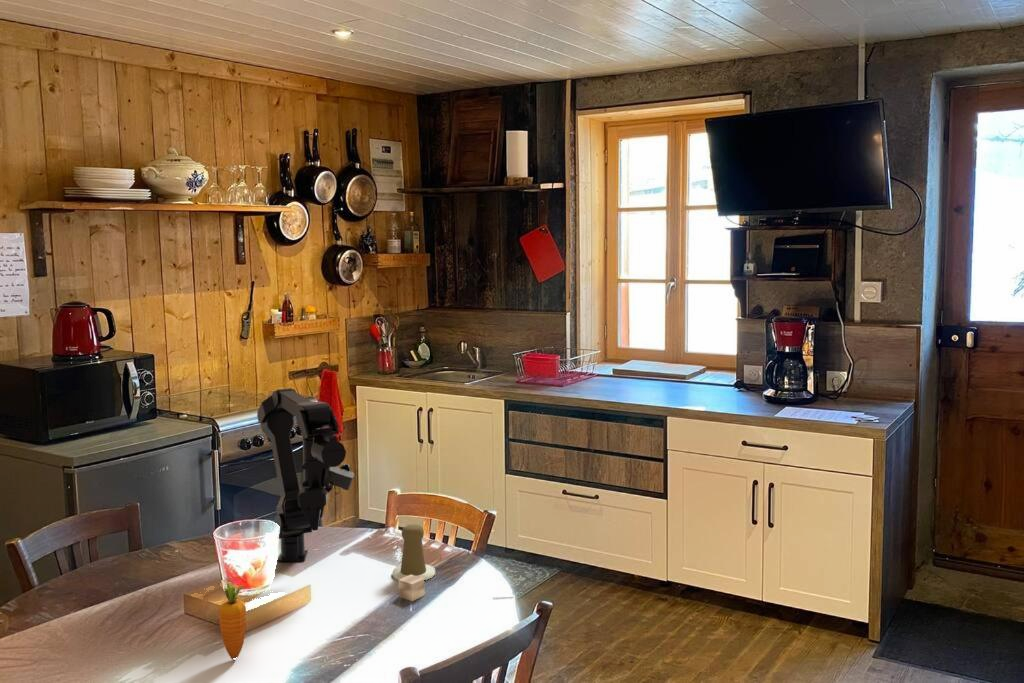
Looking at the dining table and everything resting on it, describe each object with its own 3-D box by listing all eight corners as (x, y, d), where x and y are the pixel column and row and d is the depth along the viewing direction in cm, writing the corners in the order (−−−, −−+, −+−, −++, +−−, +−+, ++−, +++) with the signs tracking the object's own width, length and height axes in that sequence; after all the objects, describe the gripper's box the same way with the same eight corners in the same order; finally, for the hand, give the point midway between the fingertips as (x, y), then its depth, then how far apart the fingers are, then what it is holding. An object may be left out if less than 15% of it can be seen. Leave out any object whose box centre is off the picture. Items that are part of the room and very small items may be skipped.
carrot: (223, 654, 171) (220, 578, 169) (250, 653, 171) (247, 577, 169) (217, 666, 166) (214, 589, 164) (245, 665, 166) (242, 588, 165)
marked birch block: (398, 597, 198) (398, 579, 198) (410, 591, 201) (410, 574, 201) (412, 601, 196) (411, 584, 195) (424, 595, 199) (424, 578, 198)
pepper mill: (425, 565, 215) (424, 521, 213) (427, 574, 209) (426, 529, 207) (399, 567, 214) (399, 522, 212) (401, 576, 208) (400, 530, 206)
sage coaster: (393, 567, 216) (393, 564, 216) (435, 565, 217) (435, 562, 217) (391, 583, 206) (391, 579, 206) (435, 581, 207) (435, 578, 207)
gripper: (347, 467, 197) (349, 535, 199) (354, 447, 216) (356, 510, 218) (296, 468, 196) (298, 537, 198) (307, 448, 215) (309, 511, 217)
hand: (317, 523), depth 208 cm, fingers open, 9 cm apart
